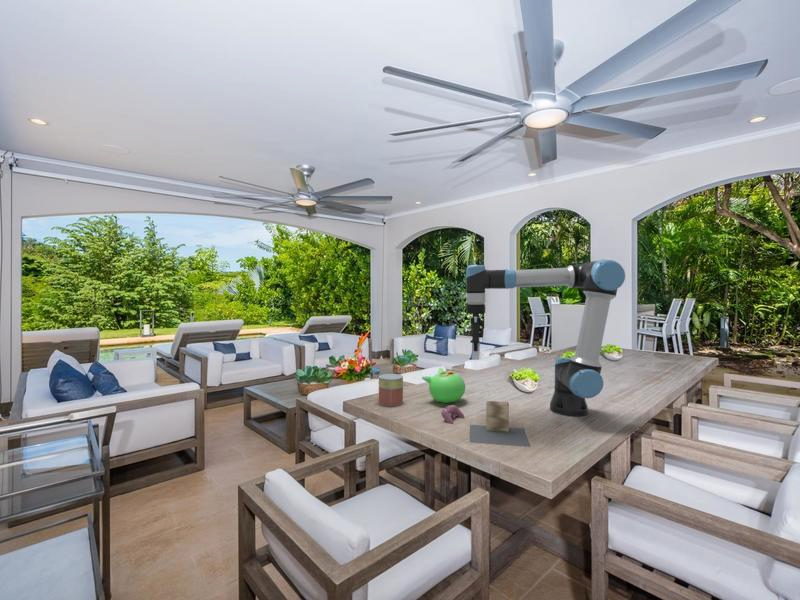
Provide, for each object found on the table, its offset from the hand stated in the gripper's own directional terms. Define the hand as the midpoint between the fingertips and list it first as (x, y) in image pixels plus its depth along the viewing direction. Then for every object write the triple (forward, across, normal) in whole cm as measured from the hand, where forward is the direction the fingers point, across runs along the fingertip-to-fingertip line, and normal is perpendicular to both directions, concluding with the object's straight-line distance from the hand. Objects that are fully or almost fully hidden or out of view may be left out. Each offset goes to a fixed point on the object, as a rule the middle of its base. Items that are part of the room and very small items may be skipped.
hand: (475, 356), depth 157 cm
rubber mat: (+26, +18, +8) cm, 32 cm away
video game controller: (+26, +5, -9) cm, 28 cm away
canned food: (+25, -14, -39) cm, 48 cm away
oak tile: (+25, +12, +8) cm, 29 cm away
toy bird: (+26, -20, -14) cm, 36 cm away
